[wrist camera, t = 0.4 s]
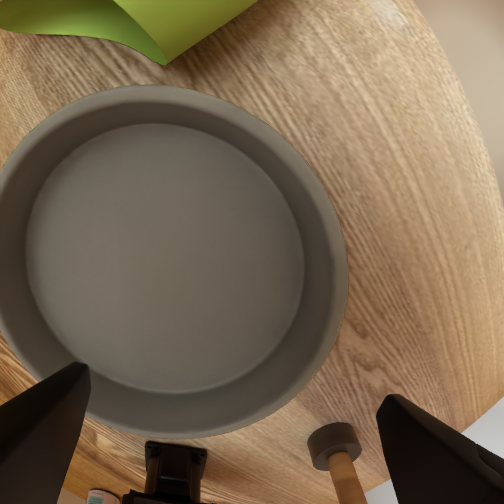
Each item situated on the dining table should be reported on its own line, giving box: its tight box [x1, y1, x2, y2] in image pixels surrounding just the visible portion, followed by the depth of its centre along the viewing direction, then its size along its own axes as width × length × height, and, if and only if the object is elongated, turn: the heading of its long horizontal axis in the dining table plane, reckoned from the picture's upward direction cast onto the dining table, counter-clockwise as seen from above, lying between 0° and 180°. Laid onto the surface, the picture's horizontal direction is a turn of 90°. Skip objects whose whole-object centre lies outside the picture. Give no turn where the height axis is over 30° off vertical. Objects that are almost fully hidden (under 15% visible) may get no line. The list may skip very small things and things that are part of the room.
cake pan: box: [0, 85, 349, 439], centre depth 20 cm, size 25×25×4 cm
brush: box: [307, 423, 368, 504], centre depth 25 cm, size 5×5×10 cm
